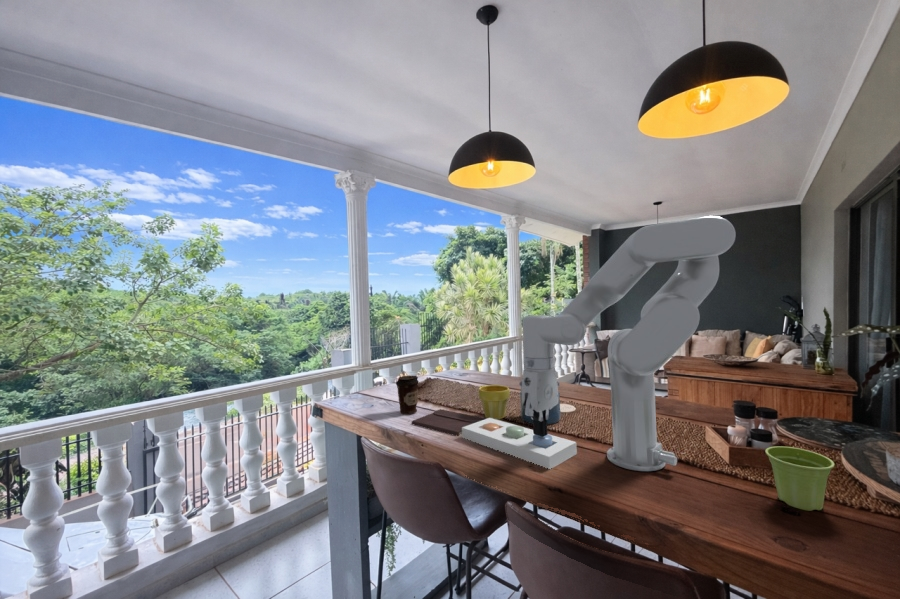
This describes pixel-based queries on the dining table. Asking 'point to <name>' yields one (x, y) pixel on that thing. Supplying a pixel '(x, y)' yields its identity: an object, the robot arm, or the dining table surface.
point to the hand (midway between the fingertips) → (540, 434)
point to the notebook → (447, 421)
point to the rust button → (491, 426)
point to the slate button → (542, 441)
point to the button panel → (520, 444)
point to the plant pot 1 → (494, 400)
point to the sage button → (515, 432)
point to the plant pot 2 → (800, 476)
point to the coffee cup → (407, 394)
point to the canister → (553, 413)
